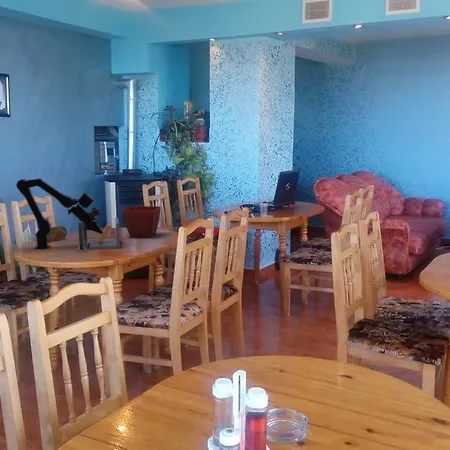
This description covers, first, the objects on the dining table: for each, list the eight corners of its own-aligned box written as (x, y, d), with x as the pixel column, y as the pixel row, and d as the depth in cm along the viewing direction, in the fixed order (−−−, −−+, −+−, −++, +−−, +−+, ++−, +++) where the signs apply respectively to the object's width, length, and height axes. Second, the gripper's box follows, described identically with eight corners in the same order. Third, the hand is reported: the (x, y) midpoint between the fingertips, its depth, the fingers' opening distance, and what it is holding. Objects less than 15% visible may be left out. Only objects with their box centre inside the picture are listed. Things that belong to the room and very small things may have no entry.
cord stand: (76, 252, 322) (75, 223, 320) (81, 241, 353) (80, 215, 351) (86, 251, 323) (84, 223, 320) (90, 240, 354) (89, 215, 352)
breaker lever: (97, 241, 337) (107, 224, 336) (97, 240, 342) (107, 223, 341) (101, 244, 337) (111, 227, 337) (101, 242, 342) (111, 225, 342)
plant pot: (122, 238, 360) (121, 210, 357) (131, 232, 379) (131, 206, 376) (154, 238, 357) (153, 210, 355) (161, 233, 376) (161, 206, 373)
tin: (46, 243, 348) (45, 228, 346) (43, 242, 350) (42, 228, 348) (67, 239, 359) (66, 225, 358) (64, 238, 361) (63, 224, 360)
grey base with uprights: (89, 249, 328) (88, 224, 326) (90, 241, 349) (89, 218, 347) (119, 248, 331) (118, 223, 329) (118, 240, 352) (117, 217, 350)
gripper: (91, 205, 326) (112, 225, 330) (91, 201, 344) (112, 220, 348) (76, 220, 326) (98, 240, 330) (78, 215, 344) (98, 234, 348)
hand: (102, 233), depth 339 cm, fingers closed, pressing on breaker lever
